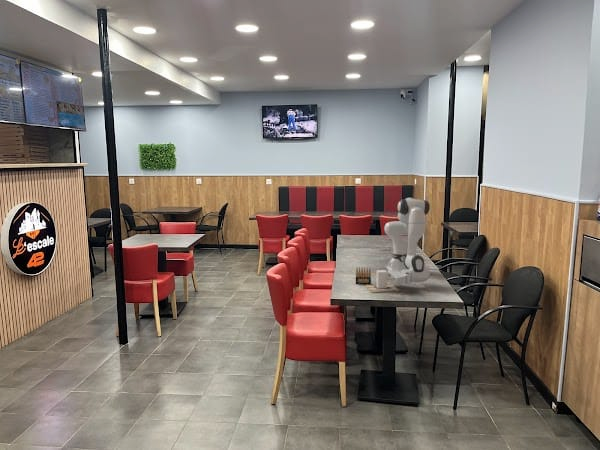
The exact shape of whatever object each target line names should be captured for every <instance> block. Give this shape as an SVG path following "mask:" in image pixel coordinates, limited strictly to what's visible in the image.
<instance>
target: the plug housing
mask: <svg viewBox="0 0 600 450" xmlns="http://www.w3.org/2000/svg"><path fill="white" fill-rule="evenodd" d="M387 273H388V270H385V269H382V270H381V269H377V270H376V273H375V277H376V278H375V279H376V287H377V288H378V289H379V288H387V284H388V280H387V277H388V276H387Z"/></svg>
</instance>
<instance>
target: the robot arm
mask: <svg viewBox="0 0 600 450" xmlns="http://www.w3.org/2000/svg"><path fill="white" fill-rule="evenodd" d="M430 209H431V205H430V203H429V201H428V200H425V199H418V198H417V199H416V198H413V197H406V198H405V199H400V200H399V201H398V202H397V211H398V213H397V219H398V221H397V220H395V221H388V222H386V223H385V225H384V228H383V229H384V233H385V235H387V236H388V237H389V238H390V239H391V242H392V244H393V245H392V246H393V253H392V258H391V259H390V260H389V261H388V262H387V266H386V269H387V281H393V282H395V283H396V284H406V285H410V283H422V282H427V281H428V280H429V279H430V274H431V273H430V270H429V269H428V267H427V266H426V263H425V258H424V257H422V256H421V255H420V254H418V255H417V247H418V242H419V240H420V239H421V238H422V237H423V236H424V234H425V231H426V215H428V214H429V213H430ZM402 236H408V237H407V241H406V240H404V239H403V238H402Z"/></svg>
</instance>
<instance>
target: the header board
mask: <svg viewBox="0 0 600 450" xmlns="http://www.w3.org/2000/svg"><path fill="white" fill-rule="evenodd" d="M364 285H365V288H367V290H368V291H369V293H371V294H377V293H380V294H381V293H398V292H399V289H398V288H397V287H396V286H394V284H392V283H387V288H379V289H378V288H377V287H376V284H371V285H367V284H364Z"/></svg>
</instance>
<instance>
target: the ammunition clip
mask: <svg viewBox="0 0 600 450" xmlns="http://www.w3.org/2000/svg"><path fill="white" fill-rule="evenodd" d="M371 271H372V270H371V267H369V268H368V267H365V266H364V267H360V266H359V267H356V269H355V285H372V273H371Z"/></svg>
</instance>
